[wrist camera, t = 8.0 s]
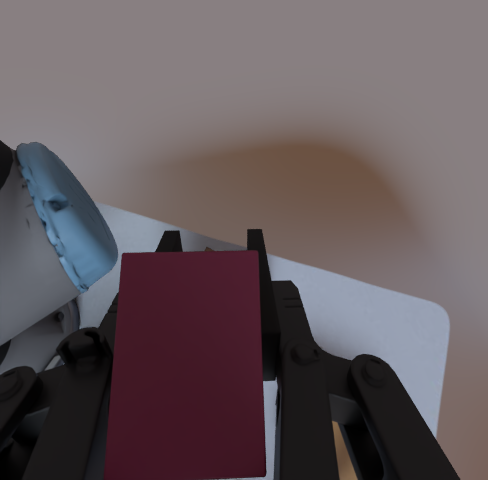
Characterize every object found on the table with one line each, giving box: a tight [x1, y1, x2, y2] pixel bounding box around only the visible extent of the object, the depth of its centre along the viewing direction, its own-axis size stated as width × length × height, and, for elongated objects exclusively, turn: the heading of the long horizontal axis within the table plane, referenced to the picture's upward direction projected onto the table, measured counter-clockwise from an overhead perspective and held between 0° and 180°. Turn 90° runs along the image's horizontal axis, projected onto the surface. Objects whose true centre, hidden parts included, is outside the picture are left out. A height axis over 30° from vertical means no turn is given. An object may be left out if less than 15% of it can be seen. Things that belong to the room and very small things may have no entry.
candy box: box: [103, 250, 266, 480], centre depth 10 cm, size 4×5×9 cm
